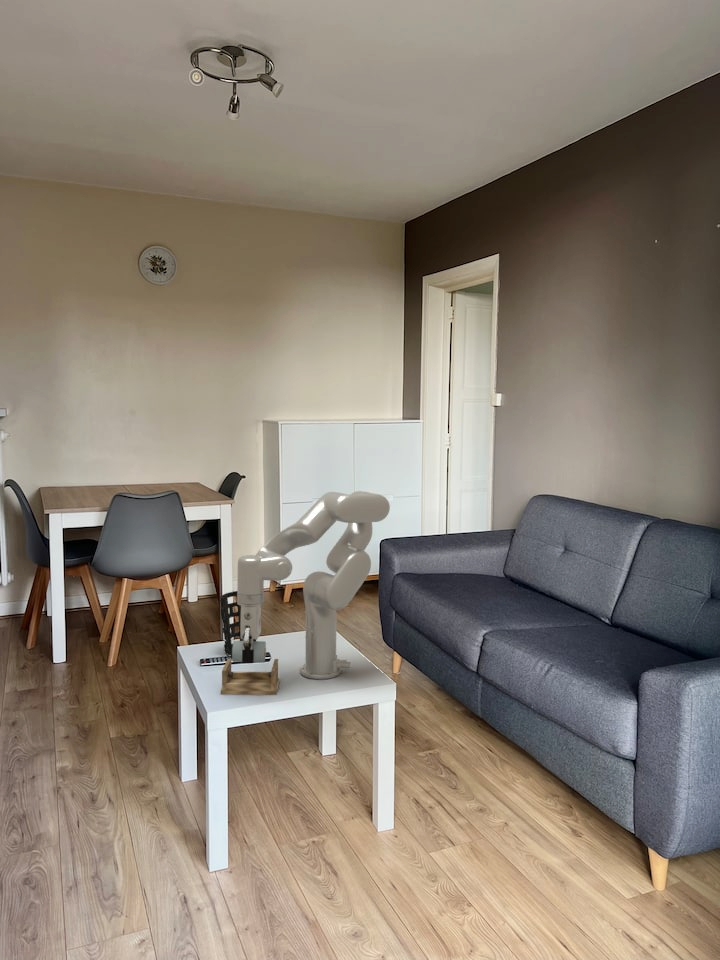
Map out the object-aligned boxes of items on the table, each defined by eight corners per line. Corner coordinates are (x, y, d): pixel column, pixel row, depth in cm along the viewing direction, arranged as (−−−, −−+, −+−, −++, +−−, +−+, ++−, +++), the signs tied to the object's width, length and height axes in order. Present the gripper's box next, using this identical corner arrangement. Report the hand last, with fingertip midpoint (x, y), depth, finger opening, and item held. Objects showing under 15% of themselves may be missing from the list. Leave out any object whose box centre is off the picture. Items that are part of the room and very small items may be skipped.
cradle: (279, 681, 217) (279, 659, 217) (276, 694, 207) (276, 671, 207) (226, 681, 217) (226, 658, 216) (220, 694, 207) (220, 670, 206)
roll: (266, 658, 214) (266, 638, 214) (264, 665, 208) (264, 645, 208) (234, 657, 214) (234, 637, 213) (231, 664, 208) (231, 644, 208)
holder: (243, 657, 237) (237, 597, 235) (220, 658, 238) (214, 599, 236) (250, 647, 248) (244, 589, 246) (228, 648, 248) (223, 591, 247)
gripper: (259, 606, 201) (258, 669, 203) (266, 591, 218) (265, 649, 220) (232, 605, 201) (231, 668, 202) (241, 590, 218) (241, 649, 220)
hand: (249, 658), depth 211 cm, fingers closed on roll, 5 cm apart
